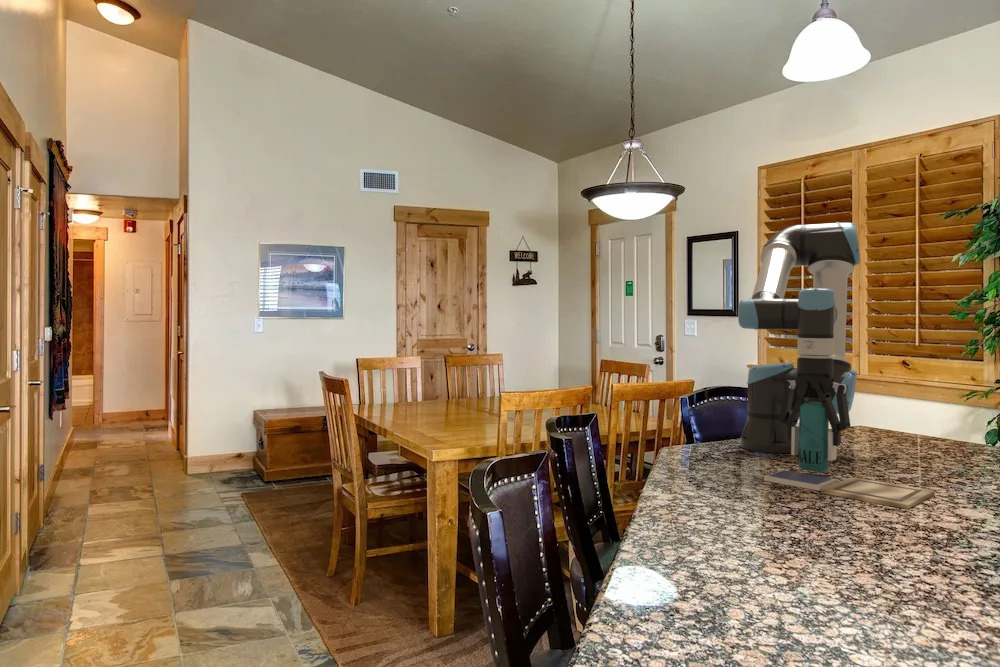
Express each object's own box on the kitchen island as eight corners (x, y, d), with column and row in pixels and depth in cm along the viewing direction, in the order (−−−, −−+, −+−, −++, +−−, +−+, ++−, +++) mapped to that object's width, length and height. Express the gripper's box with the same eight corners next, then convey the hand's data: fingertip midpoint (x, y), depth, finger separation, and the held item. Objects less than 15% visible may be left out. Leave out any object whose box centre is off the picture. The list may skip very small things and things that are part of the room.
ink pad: (763, 480, 154) (764, 475, 154) (782, 474, 160) (782, 469, 160) (819, 490, 145) (819, 485, 145) (836, 483, 151) (837, 478, 151)
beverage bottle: (822, 472, 162) (824, 386, 162) (833, 479, 156) (835, 389, 155) (793, 471, 163) (795, 385, 162) (803, 478, 156) (804, 388, 156)
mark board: (821, 492, 143) (821, 488, 143) (851, 480, 154) (851, 476, 154) (908, 509, 131) (908, 504, 131) (934, 494, 142) (934, 490, 142)
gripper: (764, 355, 163) (762, 452, 164) (856, 359, 149) (854, 466, 149) (778, 354, 169) (777, 448, 169) (869, 358, 154) (867, 461, 154)
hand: (813, 456), depth 159 cm, fingers open, 8 cm apart
